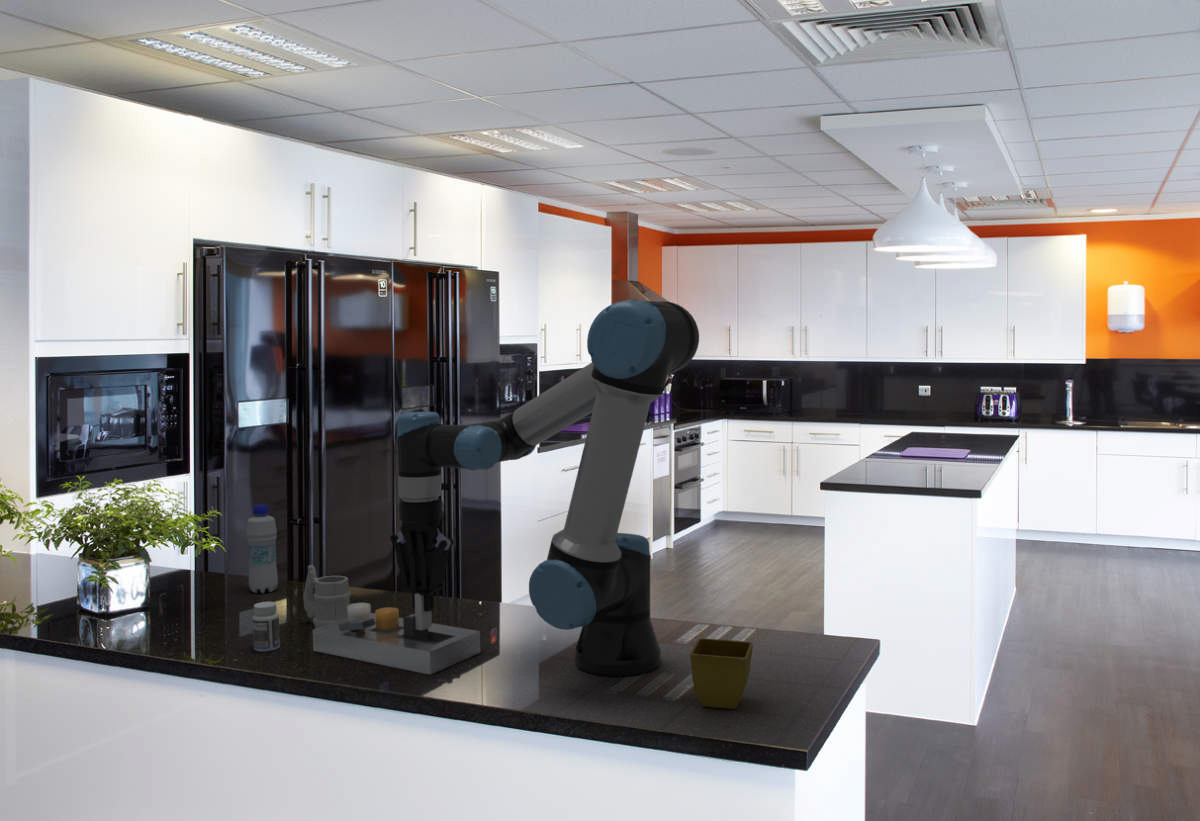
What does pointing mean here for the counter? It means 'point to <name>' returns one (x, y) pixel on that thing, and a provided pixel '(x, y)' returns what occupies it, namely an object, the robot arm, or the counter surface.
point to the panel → (399, 646)
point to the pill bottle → (266, 627)
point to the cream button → (359, 611)
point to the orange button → (387, 618)
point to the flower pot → (720, 671)
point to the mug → (326, 598)
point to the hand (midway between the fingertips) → (423, 627)
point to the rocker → (356, 624)
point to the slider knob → (414, 629)
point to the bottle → (262, 550)
